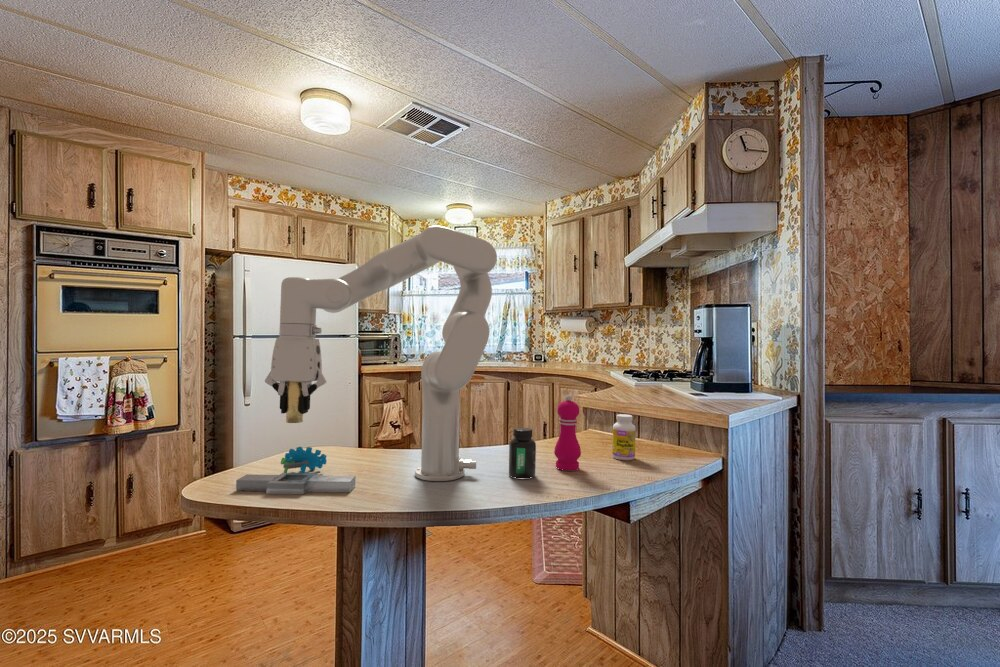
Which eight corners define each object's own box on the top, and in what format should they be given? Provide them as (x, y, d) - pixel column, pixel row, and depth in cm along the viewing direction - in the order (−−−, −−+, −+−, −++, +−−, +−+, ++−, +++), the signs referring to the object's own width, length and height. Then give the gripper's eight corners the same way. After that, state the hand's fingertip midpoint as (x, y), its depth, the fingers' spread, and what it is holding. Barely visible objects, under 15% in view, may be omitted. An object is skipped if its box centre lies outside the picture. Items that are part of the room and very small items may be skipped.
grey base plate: (357, 483, 111) (357, 473, 111) (347, 495, 103) (347, 484, 103) (250, 482, 110) (250, 472, 110) (231, 493, 102) (231, 482, 102)
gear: (333, 463, 122) (319, 442, 115) (328, 484, 118) (314, 463, 111) (291, 468, 123) (275, 447, 116) (285, 489, 118) (268, 468, 111)
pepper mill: (584, 467, 130) (586, 394, 130) (574, 473, 123) (575, 397, 124) (560, 463, 133) (562, 392, 134) (549, 468, 127) (550, 395, 128)
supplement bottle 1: (524, 481, 115) (525, 432, 116) (503, 475, 120) (504, 428, 120) (540, 476, 120) (541, 429, 121) (519, 470, 125) (520, 425, 125)
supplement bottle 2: (612, 460, 138) (613, 416, 138) (611, 454, 145) (612, 413, 145) (636, 461, 137) (637, 417, 137) (633, 456, 144) (634, 414, 144)
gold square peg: (305, 420, 108) (306, 377, 109) (299, 423, 105) (300, 378, 105) (289, 420, 108) (291, 376, 109) (283, 422, 105) (285, 378, 105)
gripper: (339, 333, 111) (336, 411, 111) (268, 331, 111) (265, 409, 110) (328, 333, 103) (325, 416, 103) (252, 330, 103) (249, 414, 103)
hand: (294, 412), depth 107 cm, fingers closed on gold square peg, 3 cm apart
